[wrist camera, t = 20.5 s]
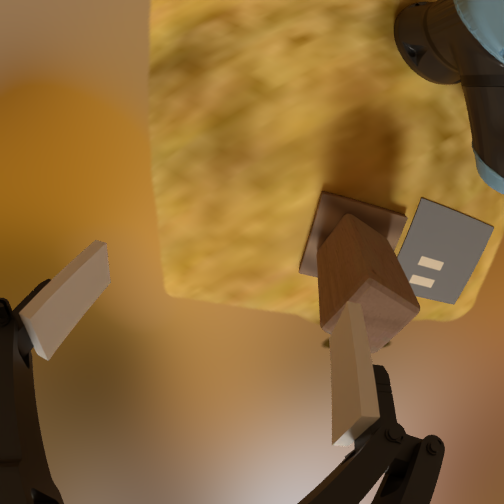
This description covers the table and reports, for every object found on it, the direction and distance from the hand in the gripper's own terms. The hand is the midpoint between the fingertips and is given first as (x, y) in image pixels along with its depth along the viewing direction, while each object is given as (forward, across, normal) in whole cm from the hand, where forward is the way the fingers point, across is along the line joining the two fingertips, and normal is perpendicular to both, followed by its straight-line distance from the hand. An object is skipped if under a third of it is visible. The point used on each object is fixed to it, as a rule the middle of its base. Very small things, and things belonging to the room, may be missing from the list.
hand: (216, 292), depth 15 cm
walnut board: (+37, +17, -12) cm, 42 cm away
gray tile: (+37, +37, -10) cm, 53 cm away
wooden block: (+35, +17, -12) cm, 41 cm away
